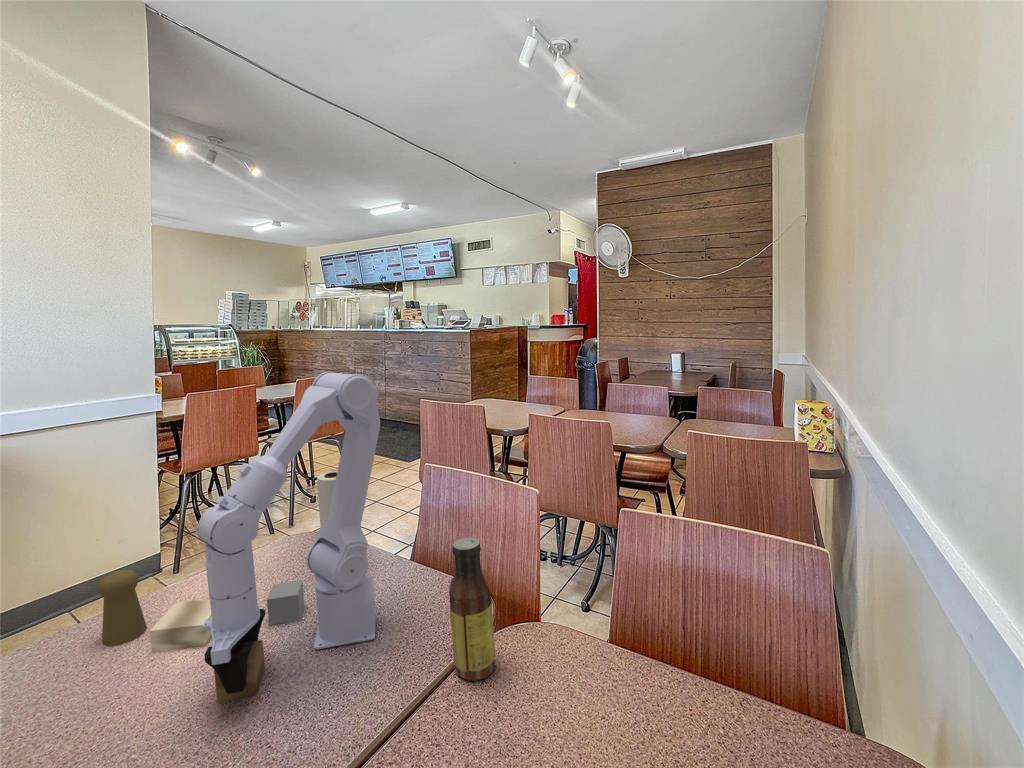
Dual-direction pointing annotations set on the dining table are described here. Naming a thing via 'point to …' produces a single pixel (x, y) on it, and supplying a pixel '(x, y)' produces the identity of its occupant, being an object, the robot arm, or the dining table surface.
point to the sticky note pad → (182, 627)
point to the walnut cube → (252, 675)
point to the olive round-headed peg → (121, 608)
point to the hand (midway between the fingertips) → (241, 676)
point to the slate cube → (285, 603)
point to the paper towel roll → (325, 494)
